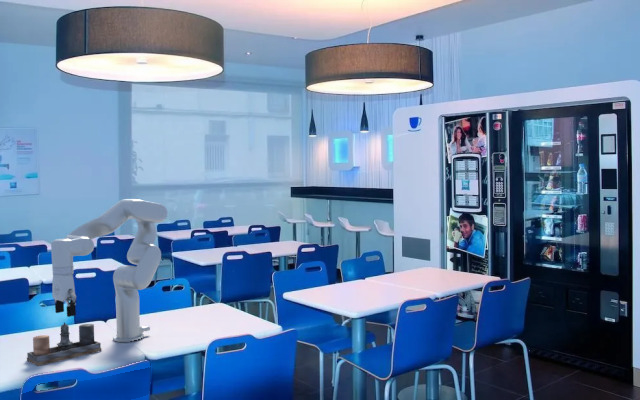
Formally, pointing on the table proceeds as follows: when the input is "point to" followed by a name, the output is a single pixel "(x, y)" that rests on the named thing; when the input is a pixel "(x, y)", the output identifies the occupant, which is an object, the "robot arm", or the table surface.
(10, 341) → the table surface
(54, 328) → the table surface
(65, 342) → the salt shaker
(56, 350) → the condiment rail
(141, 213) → the robot arm
